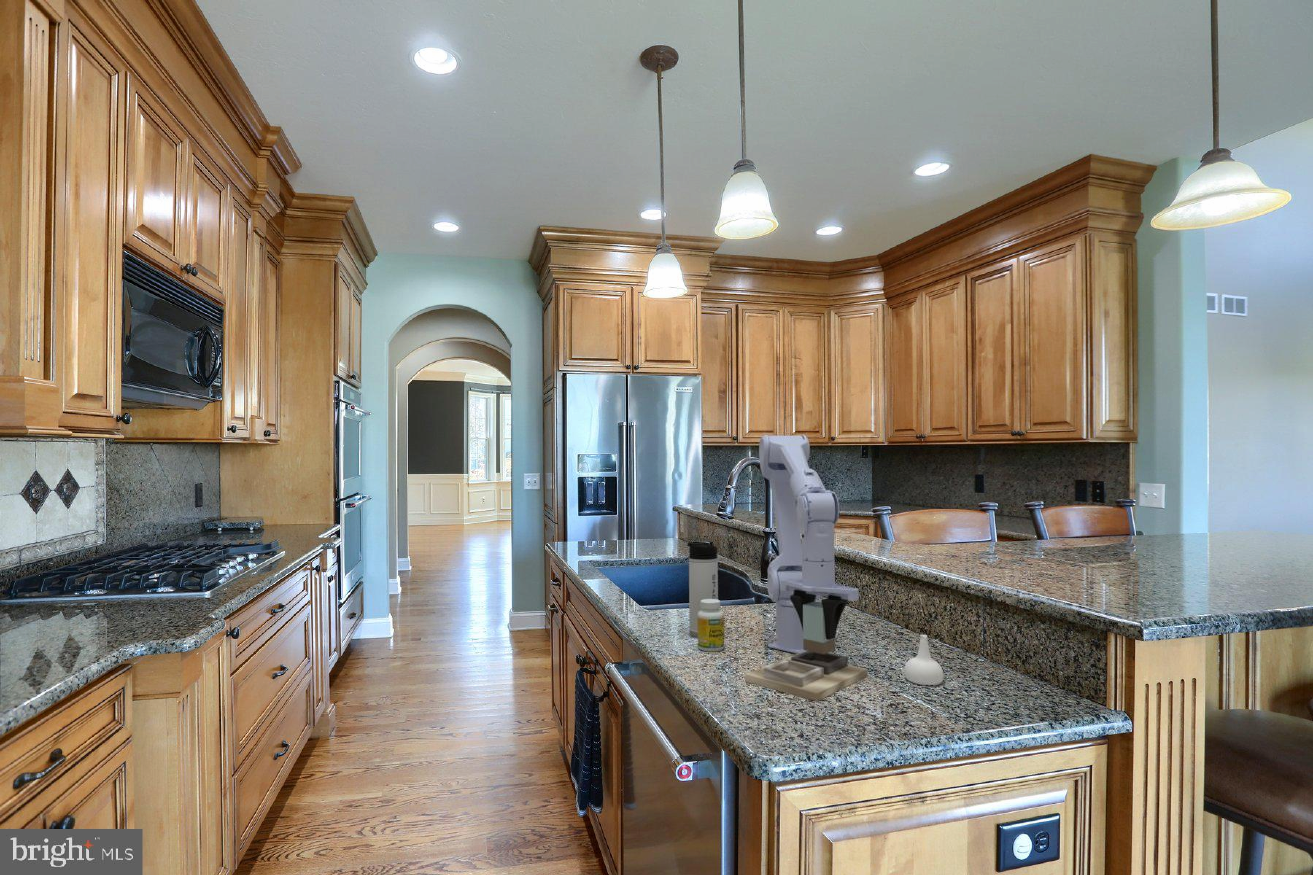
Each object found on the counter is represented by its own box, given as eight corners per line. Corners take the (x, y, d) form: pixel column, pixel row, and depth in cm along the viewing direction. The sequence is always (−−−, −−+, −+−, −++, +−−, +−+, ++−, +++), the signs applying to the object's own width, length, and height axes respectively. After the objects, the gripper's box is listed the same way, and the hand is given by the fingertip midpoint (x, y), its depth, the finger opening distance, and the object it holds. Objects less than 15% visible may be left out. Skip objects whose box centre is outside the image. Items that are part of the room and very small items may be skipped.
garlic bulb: (904, 687, 112) (903, 640, 112) (904, 672, 118) (903, 628, 118) (944, 691, 110) (943, 644, 110) (942, 676, 116) (941, 631, 116)
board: (798, 659, 126) (798, 645, 126) (867, 675, 117) (867, 660, 117) (745, 681, 114) (744, 665, 114) (817, 701, 104) (817, 683, 104)
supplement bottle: (713, 643, 138) (712, 596, 138) (729, 649, 133) (729, 601, 134) (692, 647, 135) (692, 599, 135) (708, 653, 130) (708, 604, 131)
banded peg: (815, 645, 121) (814, 601, 122) (835, 649, 118) (834, 604, 119) (803, 649, 118) (802, 604, 119) (823, 654, 116) (822, 608, 116)
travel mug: (686, 631, 148) (685, 541, 148) (715, 630, 148) (714, 540, 149) (689, 638, 141) (689, 544, 142) (720, 638, 142) (719, 544, 143)
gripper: (771, 557, 121) (772, 633, 121) (844, 566, 111) (845, 648, 111) (792, 554, 126) (793, 626, 126) (863, 561, 116) (865, 639, 116)
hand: (819, 636), depth 119 cm, fingers closed on banded peg, 4 cm apart
